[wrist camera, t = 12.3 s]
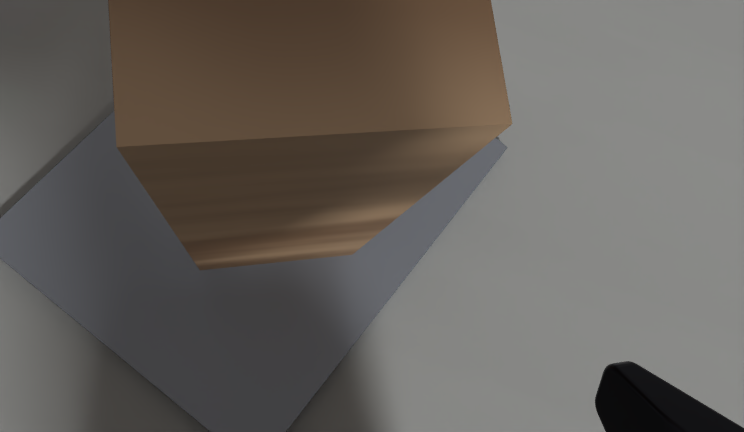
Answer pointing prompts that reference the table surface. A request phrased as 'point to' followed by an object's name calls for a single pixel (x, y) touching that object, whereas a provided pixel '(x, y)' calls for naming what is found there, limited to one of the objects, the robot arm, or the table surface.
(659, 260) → the table surface
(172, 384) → the mat
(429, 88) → the walnut block
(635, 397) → the robot arm
